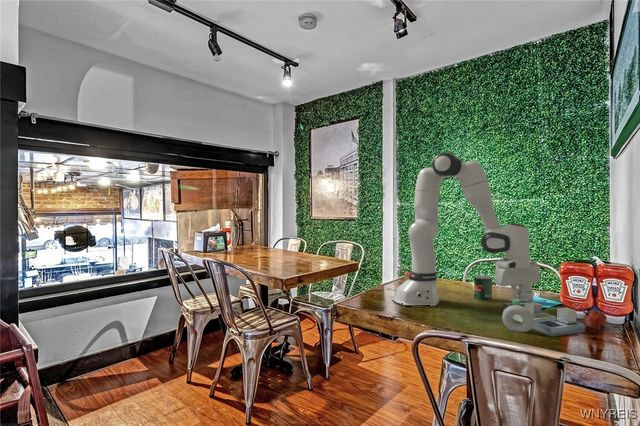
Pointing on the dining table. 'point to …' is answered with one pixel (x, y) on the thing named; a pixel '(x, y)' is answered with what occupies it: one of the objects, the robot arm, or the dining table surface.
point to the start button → (516, 302)
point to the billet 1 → (534, 309)
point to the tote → (544, 317)
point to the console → (509, 305)
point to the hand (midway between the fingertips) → (517, 294)
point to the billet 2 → (566, 316)
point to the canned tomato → (483, 288)
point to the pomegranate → (595, 319)
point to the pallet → (557, 327)
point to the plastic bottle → (526, 294)
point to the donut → (521, 311)
